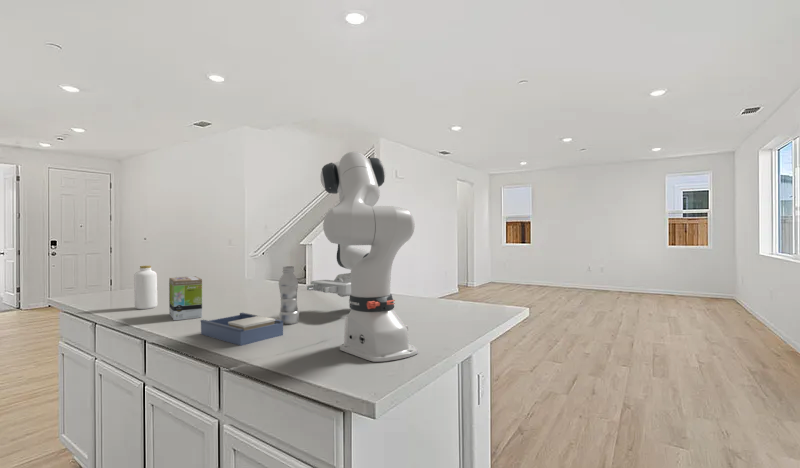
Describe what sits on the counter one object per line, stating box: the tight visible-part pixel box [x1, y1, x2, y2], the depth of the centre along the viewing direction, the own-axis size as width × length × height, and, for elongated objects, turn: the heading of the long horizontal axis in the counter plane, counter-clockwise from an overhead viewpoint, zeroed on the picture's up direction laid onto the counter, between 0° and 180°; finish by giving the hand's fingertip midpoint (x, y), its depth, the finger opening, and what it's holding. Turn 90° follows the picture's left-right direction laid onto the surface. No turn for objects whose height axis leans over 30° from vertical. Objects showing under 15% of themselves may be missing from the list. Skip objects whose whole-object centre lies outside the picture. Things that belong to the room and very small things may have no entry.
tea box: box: [168, 276, 203, 321], centre depth 160 cm, size 15×10×15 cm, turn 34°
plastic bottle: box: [278, 266, 300, 325], centre depth 143 cm, size 6×7×20 cm
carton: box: [228, 315, 276, 331], centre depth 124 cm, size 8×10×5 cm
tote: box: [200, 312, 284, 347], centre depth 127 cm, size 22×14×5 cm, turn 52°
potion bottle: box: [133, 265, 158, 310], centre depth 178 cm, size 8×8×18 cm
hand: (315, 289), depth 151 cm, fingers open, 8 cm apart
